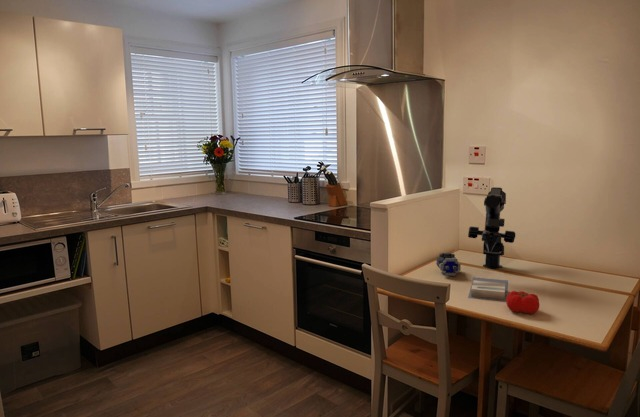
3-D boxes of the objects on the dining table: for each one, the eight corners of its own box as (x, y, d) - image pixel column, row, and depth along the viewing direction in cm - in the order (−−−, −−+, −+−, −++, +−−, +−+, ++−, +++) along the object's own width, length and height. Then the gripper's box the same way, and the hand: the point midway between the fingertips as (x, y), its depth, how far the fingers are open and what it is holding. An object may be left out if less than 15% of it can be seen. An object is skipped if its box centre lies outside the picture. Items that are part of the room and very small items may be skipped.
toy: (441, 260, 203) (435, 251, 218) (441, 279, 205) (435, 269, 219) (461, 260, 203) (454, 251, 218) (461, 279, 204) (454, 269, 219)
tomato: (537, 318, 160) (538, 300, 159) (503, 313, 165) (504, 295, 164) (540, 309, 168) (541, 291, 167) (507, 304, 173) (508, 287, 172)
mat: (473, 278, 205) (473, 277, 205) (507, 281, 200) (507, 280, 200) (467, 298, 180) (467, 297, 180) (507, 303, 174) (507, 302, 174)
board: (473, 279, 192) (471, 288, 181) (505, 282, 187) (504, 292, 176) (473, 287, 192) (471, 296, 181) (504, 290, 188) (504, 299, 177)
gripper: (471, 208, 201) (468, 240, 193) (518, 213, 195) (516, 246, 188) (469, 221, 210) (466, 252, 203) (514, 226, 205) (512, 258, 197)
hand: (489, 252), depth 197 cm, fingers closed
